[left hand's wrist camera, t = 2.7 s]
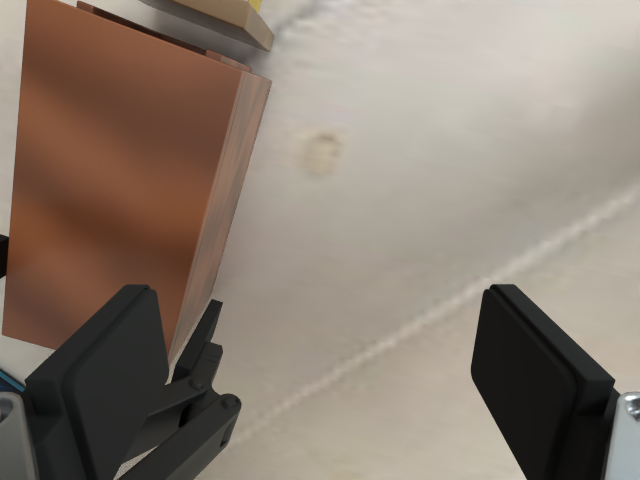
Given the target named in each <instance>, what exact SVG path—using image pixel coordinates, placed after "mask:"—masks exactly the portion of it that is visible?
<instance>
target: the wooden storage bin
mask: <svg viewBox="0 0 640 480" xmlns="http://www.w3.org/2000/svg"><path fill="white" fill-rule="evenodd" d="M271 84H272V81H271V80H268V79H265V78H263V77H260V76H257V75H255V74H252V73H249V72H246V71H244V70H241V69H238V68H236V67H233V66H230V65H227V64H225V63H222V62H220V61H217V60H214V59H212V58H209V57H206V56H204V55H201V54H198V53H196V52H193V51H190V50H188V49H185V48H182V47H180V46H177V45H174V44H172V43H169V42H166V41H164V40H161V39H158V38H156V37H153V36H150V35H148V34H145V33H142V32H140V31H137V30H135V29H132V28H129V27H127V26H124V25H121V24H119V23H116V22H113V21H111V20H108V19H105V18H103V17H100V16H97V15H95V14H92V13H89V12H87V11H84V10H81V9H79V8H76V7H74V6H71V5H68V4H66V3H63V2H60V1H58V0H27V8H26V21H25V34H24V48H23V61H22V74H21V87H20V100H19V114H18V127H17V140H16V153H15V167H14V180H13V193H12V206H11V220H10V233H9V246H8V259H7V272H6V286H5V299H4V312H3V325H2V335H4V336H7V337H11V338H15V339H18V340H22V341H25V342H29V343H33V344H36V345H40V346H43V347H47V348H51V349H54V350H57V349H58V348H59V347H60V346H61V345H62V344H63V343H64V342H65V341H66V340H67V339H68V338H70V337H71V336H72V335H73V334H74V333H75V332H76V331H77V330H78V329H79V328H80V327H81V326H82V325H83V324H84V323H85V322H86V321H87V320H89V319H90V318H91V317H92V316H93V315H94V314H95V313H96V312H97V311H98V310H99V309H100V308H101V307H102V306H103V305H104V304H105V303H106V302H108V301H109V300H110V299H111V298H112V297H113V296H114V295H115V294H116V293H117V292H118V291H119V290H120V289H121V288H122V287H123V286H125V285H126V284H147V285H149V286H150V288H151V289H154V290H156V292H157V297H158V303H159V309H160V315H161V321H162V327H163V333H164V339H165V345H166V351H167V357H168V364H169V367H170V365H171V363H172V362H173V360H174V358H175V356H176V355H177V353H178V351H179V349H180V348H181V346H182V344H183V342H184V341H185V339H186V337H187V335H188V334H189V332H190V330H191V328H192V327H193V325H194V323H195V322H196V320H197V318H198V316H199V315H200V313H201V311H202V309H203V308H204V306H205V304H206V302H207V301H208V299H209V297H210V296H211V293H212V290H213V286H214V283H215V279H216V276H217V272H218V269H219V265H220V262H221V258H222V255H223V251H224V248H225V244H226V241H227V237H228V234H229V230H230V227H231V223H232V220H233V216H234V213H235V209H236V206H237V202H238V199H239V195H240V192H241V188H242V185H243V181H244V178H245V174H246V171H247V168H248V164H249V161H250V157H251V154H252V150H253V147H254V143H255V140H256V136H257V133H258V129H259V126H260V122H261V119H262V115H263V112H264V108H265V105H266V101H267V98H268V94H269V91H270V87H271Z"/></svg>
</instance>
